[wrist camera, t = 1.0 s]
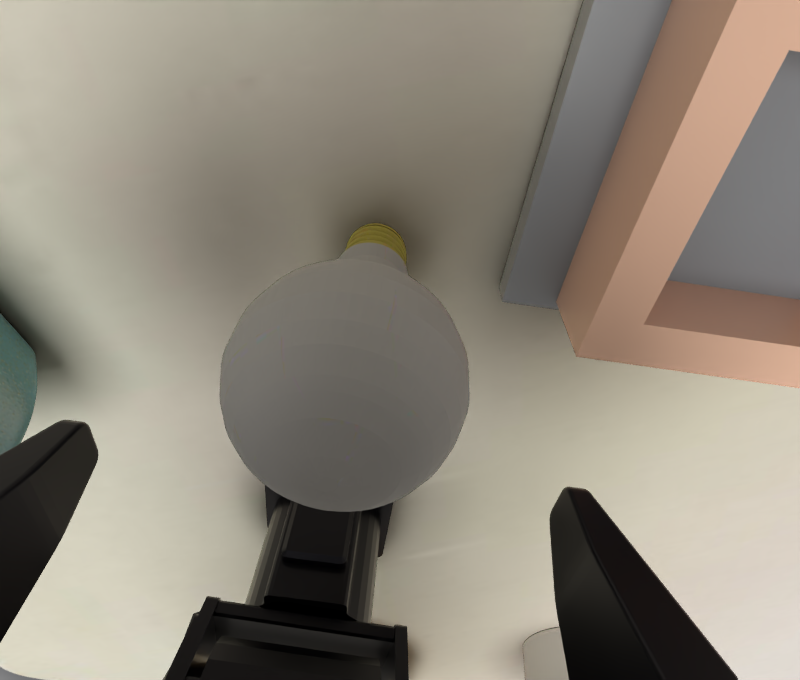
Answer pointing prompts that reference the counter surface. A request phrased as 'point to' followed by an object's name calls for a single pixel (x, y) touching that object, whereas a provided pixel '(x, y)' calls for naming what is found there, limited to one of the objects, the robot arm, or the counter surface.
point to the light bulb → (346, 380)
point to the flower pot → (15, 386)
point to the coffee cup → (545, 656)
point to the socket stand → (672, 190)
